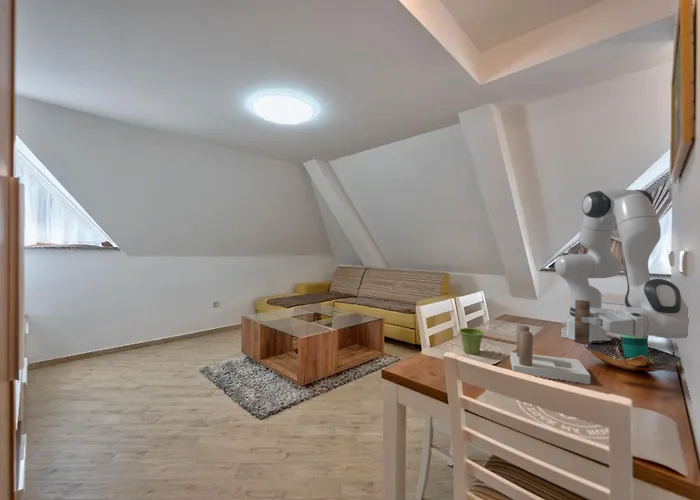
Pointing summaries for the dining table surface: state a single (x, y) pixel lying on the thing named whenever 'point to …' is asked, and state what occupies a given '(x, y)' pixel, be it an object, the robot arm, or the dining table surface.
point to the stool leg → (581, 328)
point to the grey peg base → (545, 362)
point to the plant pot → (471, 340)
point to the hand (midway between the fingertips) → (579, 317)
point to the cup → (634, 345)
